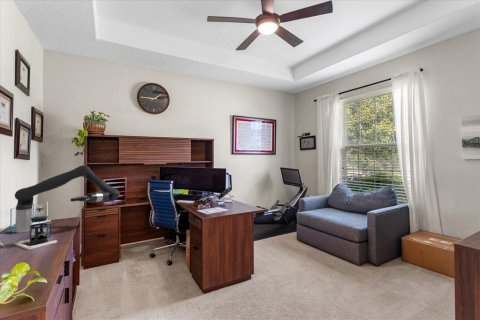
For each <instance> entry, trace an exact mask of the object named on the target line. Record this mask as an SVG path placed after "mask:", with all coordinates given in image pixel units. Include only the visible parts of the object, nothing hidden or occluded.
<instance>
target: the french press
mask: <svg viewBox="0 0 480 320" xmlns="http://www.w3.org/2000/svg"><path fill="white" fill-rule="evenodd" d="M35 210H37V211H38V212H39V214H38V215H37V216H34V217H33V216H32V218H30V219H31V221H32V223H34V224H32V225H31V226H30V231H29V239H30V242H28V243H29V244H28V246H34V245H38V244H42V243H46V242H49V240H48V239H49V238H51V237H52V223H47V221H48V218H49V216H48V215H41V211H42V210H44V208H42V207H38V208H35ZM43 222H44V223H43ZM44 228H46V231H44ZM32 229H33V230H34V232H32ZM48 229H49V230H48ZM48 231H49V232H48ZM48 234H49V236H48Z"/></svg>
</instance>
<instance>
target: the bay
mask: <svg viewBox="0 0 480 320" xmlns="http://www.w3.org/2000/svg"><path fill="white" fill-rule="evenodd" d="M57 242H58V240H56V239H55V240H51V241H48V242H46V243H42V244H38V245H26V244H27V243H30V238H29V239H25V240H21V241H16V242H14V246H18V248H22V249H24V250H32V249H37V248H39V247H44V246H49V245H51V244H56V243H57Z"/></svg>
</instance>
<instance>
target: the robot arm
mask: <svg viewBox="0 0 480 320" xmlns="http://www.w3.org/2000/svg"><path fill="white" fill-rule="evenodd" d="M81 177H83V178H84V179H85V180H87V181H90V183H92V184H93V185H94V186H95V187H97V189H99V190H100V191H101V192H100V191H99V192H90V193H87V195H79V196H77V197H76V196H75V197H72V198H70V202H87V203H97V202H103V201H107V202H108V201H109V202H113V201H116V200H117V199H118V198H119V196H121V192H120V191H119V189H117V188H115V187H113V186H111V185H109V184H108V183H107V182H105V181H104V180H103V179H101V178H100V177H98V176H97V175H96V174H95V173H94V172H93V170H92V169H91V168H90V167H89V166H88V165H83V164H82V165H78V166H77V167H75V168H74V169H70V170H69V171H67V172H66V171H65V172H63V173H60V174H58V175H54V176H52V177H49V178H47V179H44V180H42V181H41V182H38V183H36V184H33V185H31V186H27V187H22V188H20V189H18V190H17V191H16V192H15V193H14V199H15V200H17V203H16V206H15V229H14V231H15V233H17V234H18V233H19V234H21V233H29V232H30V226H31V225H33V222H32V221H31V219H30V218H33V205H34V196H36V195H39V194H43V193H45V192H48V191H52V190H54V189H55V190H56V189H58V188H60V187H62V186H65V185H66V184H68V183H69V182H71V181H72V180H74V179H77V178H81Z"/></svg>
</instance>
